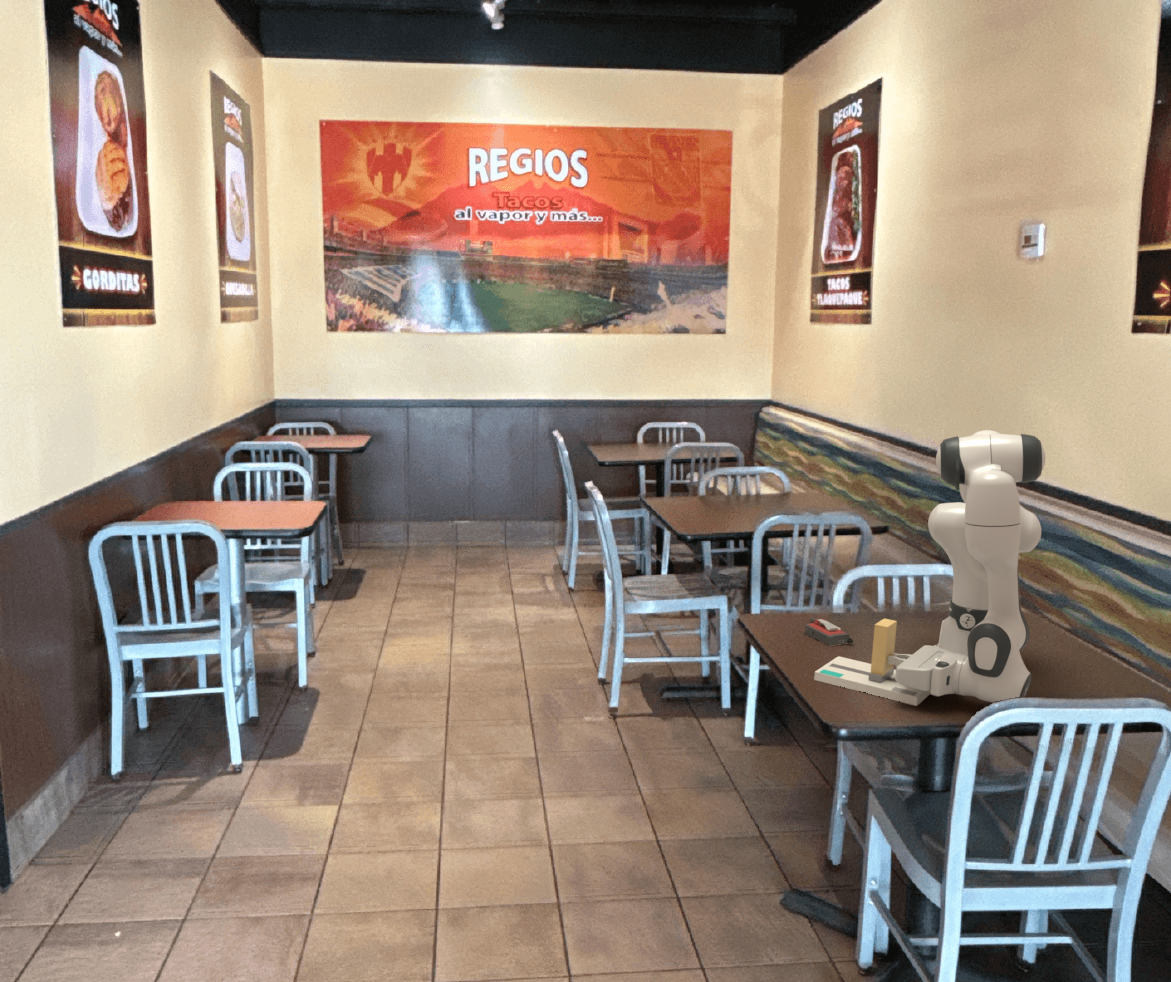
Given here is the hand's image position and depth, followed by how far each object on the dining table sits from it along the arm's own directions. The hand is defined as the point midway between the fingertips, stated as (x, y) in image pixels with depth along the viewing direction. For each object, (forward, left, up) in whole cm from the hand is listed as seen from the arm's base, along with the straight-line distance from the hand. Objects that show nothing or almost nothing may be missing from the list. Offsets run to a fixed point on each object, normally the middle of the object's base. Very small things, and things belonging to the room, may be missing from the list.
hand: (889, 657), depth 238 cm
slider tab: (0, -1, -5) cm, 5 cm away
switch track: (0, -3, -7) cm, 8 cm away
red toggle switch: (-26, -27, -8) cm, 38 cm away
